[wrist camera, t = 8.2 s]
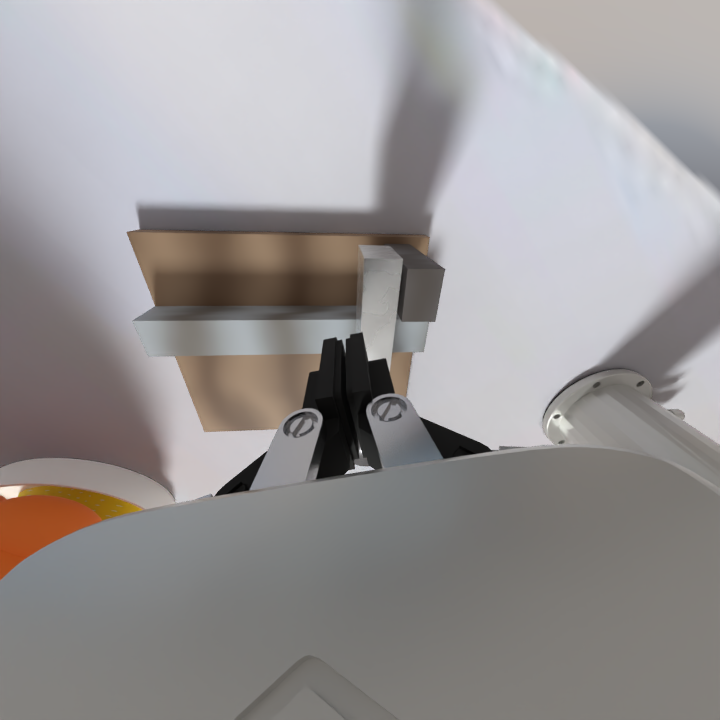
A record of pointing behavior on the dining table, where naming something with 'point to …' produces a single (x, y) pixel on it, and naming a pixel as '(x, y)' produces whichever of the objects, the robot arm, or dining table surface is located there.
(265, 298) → the frame
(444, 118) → the dining table surface
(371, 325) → the bar
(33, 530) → the potted cactus
